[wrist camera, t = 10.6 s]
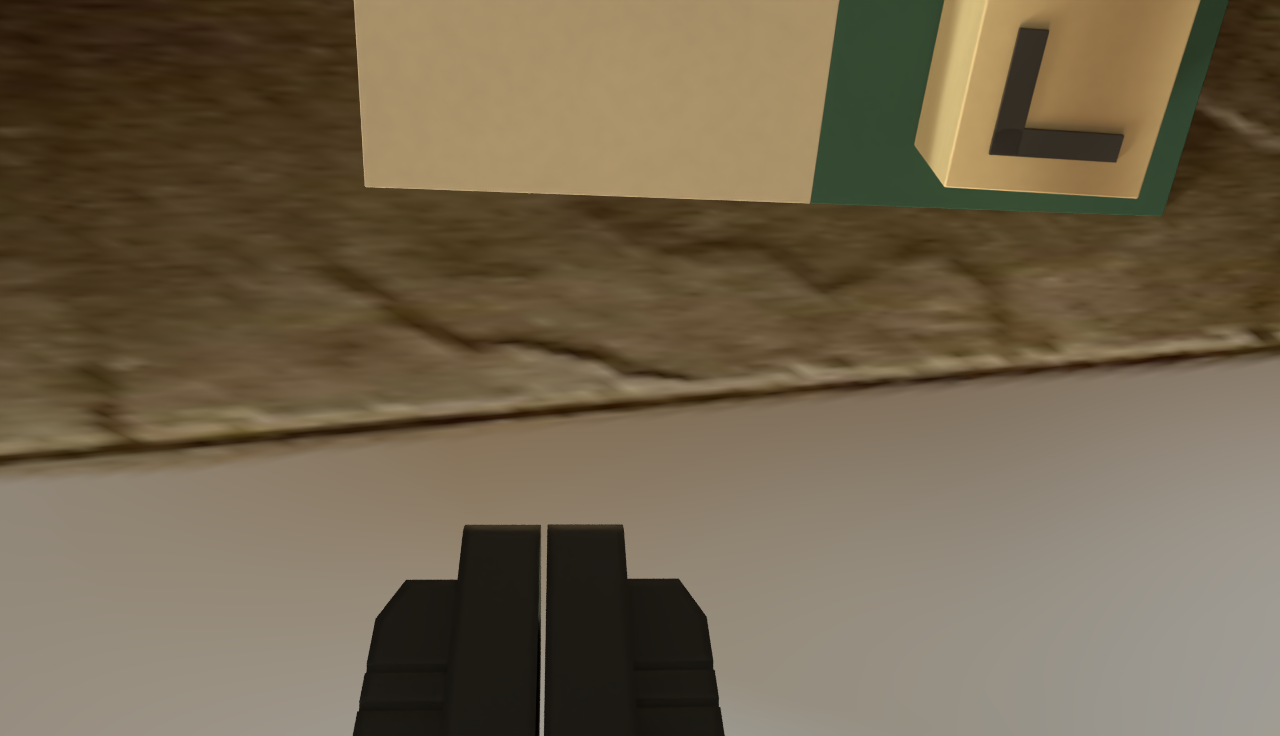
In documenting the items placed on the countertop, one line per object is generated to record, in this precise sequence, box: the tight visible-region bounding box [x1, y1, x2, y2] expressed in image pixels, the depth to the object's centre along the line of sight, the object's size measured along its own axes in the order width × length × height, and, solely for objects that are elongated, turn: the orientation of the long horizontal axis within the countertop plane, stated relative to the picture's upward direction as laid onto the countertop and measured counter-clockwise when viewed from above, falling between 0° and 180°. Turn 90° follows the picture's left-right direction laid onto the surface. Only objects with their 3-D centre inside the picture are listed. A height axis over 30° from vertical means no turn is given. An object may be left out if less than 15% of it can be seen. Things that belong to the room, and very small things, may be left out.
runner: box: [354, 0, 1229, 216], centre depth 30 cm, size 22×9×1 cm, turn 87°
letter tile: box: [914, 0, 1200, 199], centre depth 30 cm, size 5×5×3 cm
